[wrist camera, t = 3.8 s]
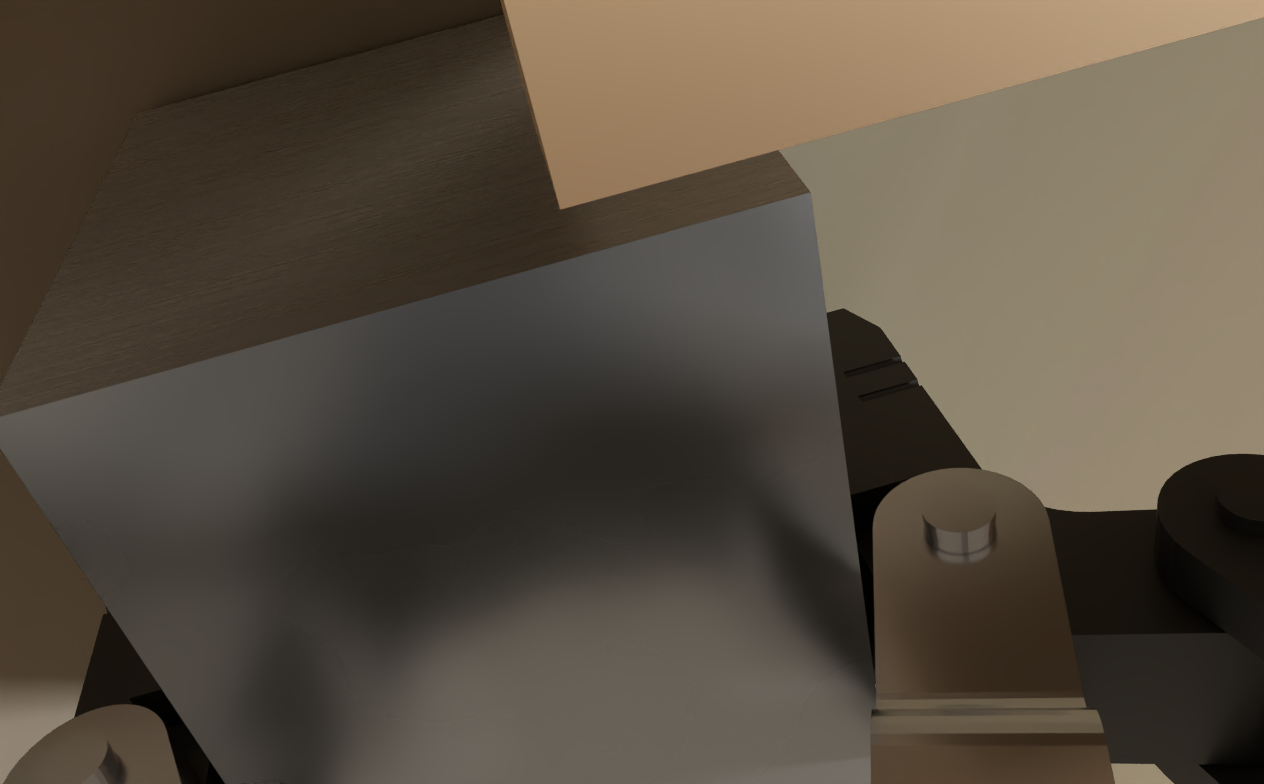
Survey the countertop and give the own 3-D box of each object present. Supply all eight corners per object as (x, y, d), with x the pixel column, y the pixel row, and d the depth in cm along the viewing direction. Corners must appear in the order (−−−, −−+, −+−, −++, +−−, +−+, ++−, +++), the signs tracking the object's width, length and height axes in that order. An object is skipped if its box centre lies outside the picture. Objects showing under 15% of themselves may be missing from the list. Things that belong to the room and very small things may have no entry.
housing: (138, 112, 11) (-19, 420, 6) (644, -24, 11) (809, 193, 7) (412, 685, 15) (424, 1081, 11) (765, 584, 15) (908, 936, 11)
